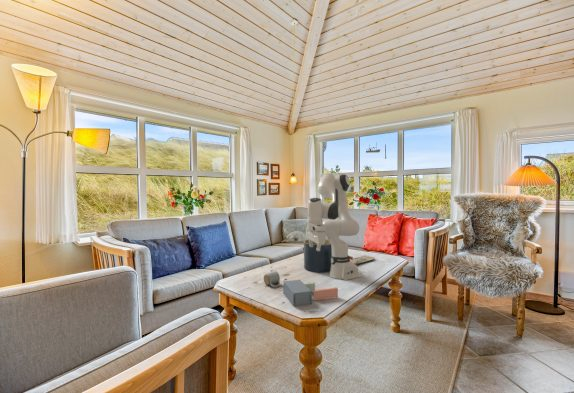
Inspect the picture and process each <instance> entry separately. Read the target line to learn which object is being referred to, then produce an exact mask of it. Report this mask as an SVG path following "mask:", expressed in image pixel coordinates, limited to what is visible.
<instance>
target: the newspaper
mask: <svg viewBox="0 0 574 393" xmlns="http://www.w3.org/2000/svg"><path fill="white" fill-rule="evenodd" d="M375 259H376V258H375V257H374V256H371V255H365V254H364V255H361V256H358V257H355V258H354V257H353V260H351V259H350V261H351V262H352V263H354V264H355V265H356V266H357V265H359V264H363V263H366V262H370V261H371V260H373V261H374V260H375Z"/></svg>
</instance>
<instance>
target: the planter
mask: <svg viewBox="0 0 574 393" xmlns="http://www.w3.org/2000/svg"><path fill="white" fill-rule="evenodd" d="M312 242H313V241H312ZM316 248H317V243H315V242H313V247H310V243H309V239H305V240H304V241H303V267H304V270H306V271H307V272H311V273H318V274H319V273H321V274H322V273H328V272H329V273H330V269H331V255H332V248H331V242H330V240H329V239H326V240H325V244H324V245H321V248H320V251H317V250H316Z"/></svg>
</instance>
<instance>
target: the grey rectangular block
mask: <svg viewBox="0 0 574 393" xmlns="http://www.w3.org/2000/svg"><path fill="white" fill-rule="evenodd" d="M304 283H305V282H304V281H301V279H294V280H293V279H292V280H284V281H283V295H284V296H285V298H287V300H288V301H289V303H290V304H291V305H292V306H293V307H300V306H307V305H312V294H313V295H314V292H312V291H311V290H310V289H309V288H308V287H307V286H306V285H305V284H304Z"/></svg>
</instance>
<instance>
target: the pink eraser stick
mask: <svg viewBox="0 0 574 393" xmlns="http://www.w3.org/2000/svg"><path fill="white" fill-rule="evenodd" d="M338 294H339V288H338V287H337V286H335V287H329V288H321V289H315V290H314V292H313V300H314V301H318V300H325V299H333V298H338V297H339V295H338Z"/></svg>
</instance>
